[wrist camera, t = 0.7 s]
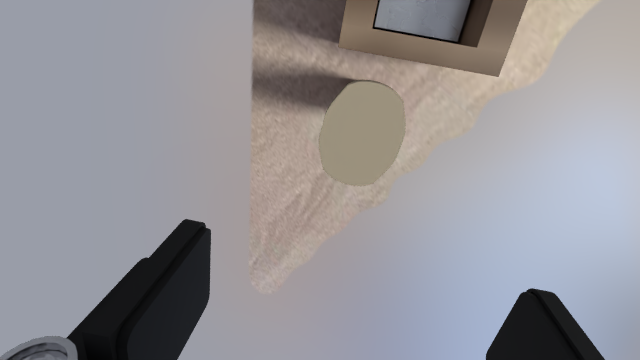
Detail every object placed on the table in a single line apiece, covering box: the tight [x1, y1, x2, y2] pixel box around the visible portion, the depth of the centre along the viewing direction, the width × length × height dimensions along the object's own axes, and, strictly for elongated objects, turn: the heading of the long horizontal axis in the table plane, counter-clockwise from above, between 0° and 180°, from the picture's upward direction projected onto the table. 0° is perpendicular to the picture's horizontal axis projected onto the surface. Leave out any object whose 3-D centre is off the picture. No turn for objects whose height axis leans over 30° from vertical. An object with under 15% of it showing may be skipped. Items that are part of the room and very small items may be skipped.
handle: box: [319, 80, 405, 186], centre depth 26 cm, size 5×6×15 cm
